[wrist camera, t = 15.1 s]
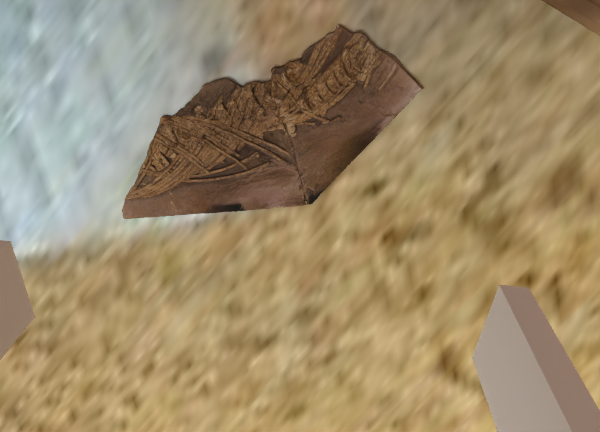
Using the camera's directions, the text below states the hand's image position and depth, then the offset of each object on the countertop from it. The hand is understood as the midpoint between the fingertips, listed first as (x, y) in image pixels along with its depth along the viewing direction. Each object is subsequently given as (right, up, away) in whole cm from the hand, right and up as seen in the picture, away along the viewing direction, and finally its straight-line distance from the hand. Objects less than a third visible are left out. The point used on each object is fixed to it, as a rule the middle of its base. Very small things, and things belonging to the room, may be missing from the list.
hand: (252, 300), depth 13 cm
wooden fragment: (-2, +8, +22) cm, 23 cm away
